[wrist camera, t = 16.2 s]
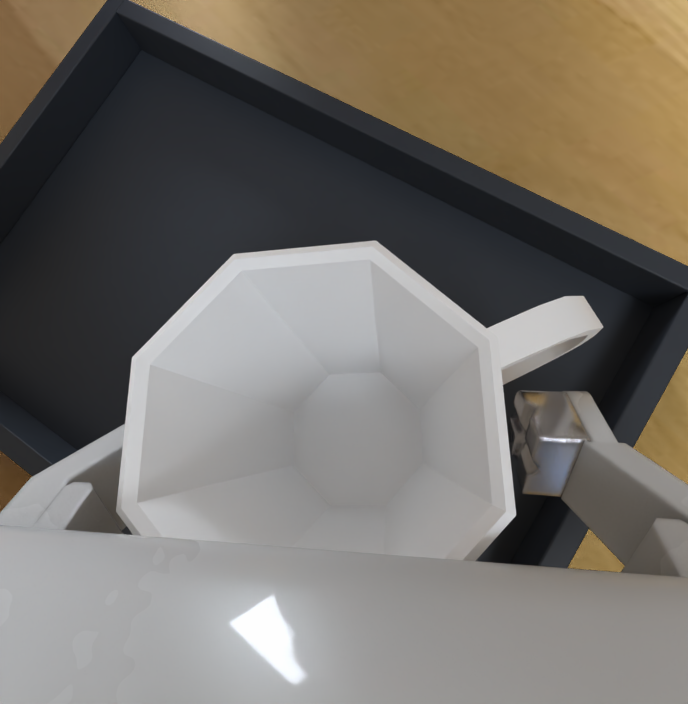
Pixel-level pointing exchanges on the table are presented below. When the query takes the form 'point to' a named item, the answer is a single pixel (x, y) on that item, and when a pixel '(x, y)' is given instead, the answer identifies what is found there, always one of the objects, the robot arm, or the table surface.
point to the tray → (279, 240)
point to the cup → (331, 408)
